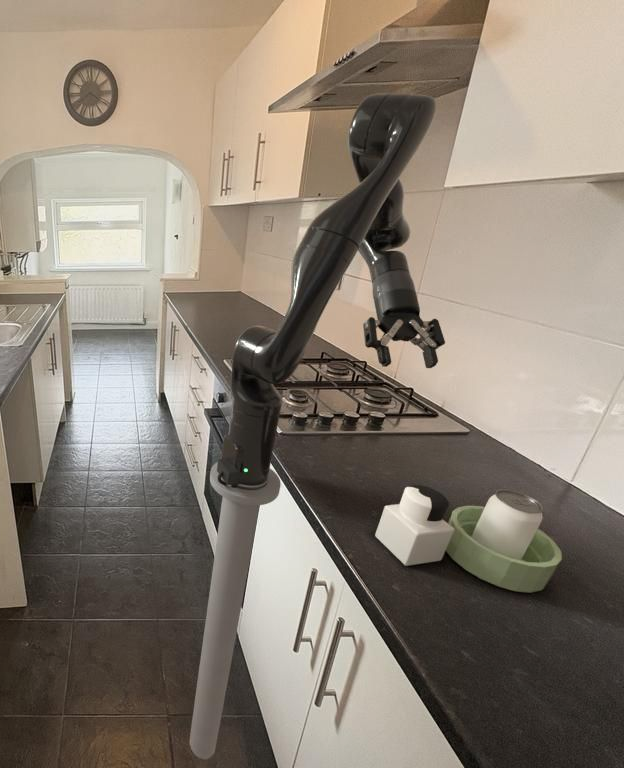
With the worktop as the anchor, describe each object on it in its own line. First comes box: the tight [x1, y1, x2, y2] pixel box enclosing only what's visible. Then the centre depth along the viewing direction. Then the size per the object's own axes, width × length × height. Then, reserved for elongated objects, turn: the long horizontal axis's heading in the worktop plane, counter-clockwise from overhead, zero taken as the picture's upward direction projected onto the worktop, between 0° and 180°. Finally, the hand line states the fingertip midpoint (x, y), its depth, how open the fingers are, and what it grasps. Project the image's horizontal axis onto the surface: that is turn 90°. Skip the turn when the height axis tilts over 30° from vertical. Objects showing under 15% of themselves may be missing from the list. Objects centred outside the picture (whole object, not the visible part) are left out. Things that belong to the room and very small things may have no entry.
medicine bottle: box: [374, 484, 454, 567], centre depth 70 cm, size 7×7×12 cm
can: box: [471, 489, 544, 560], centre depth 68 cm, size 6×6×12 cm
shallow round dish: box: [445, 505, 563, 594], centre depth 69 cm, size 14×14×6 cm
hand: (409, 366), depth 83 cm, fingers open, 8 cm apart
